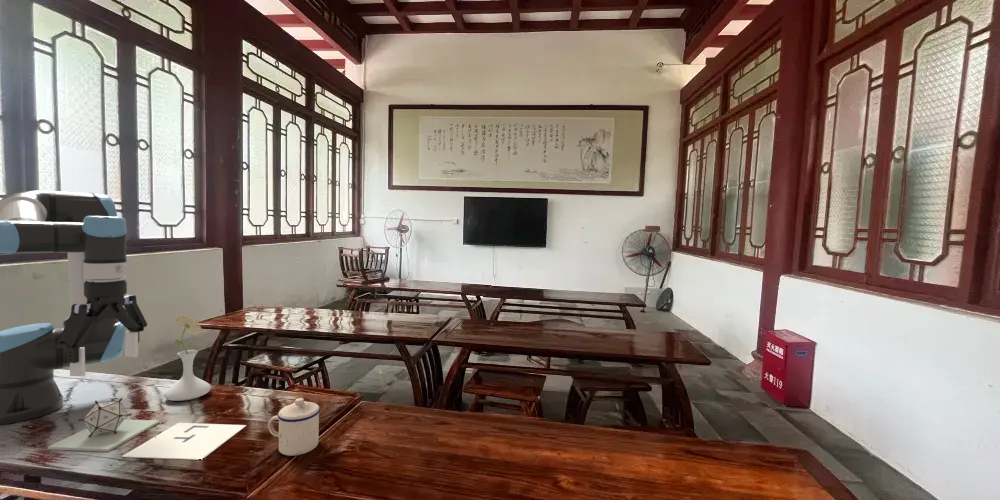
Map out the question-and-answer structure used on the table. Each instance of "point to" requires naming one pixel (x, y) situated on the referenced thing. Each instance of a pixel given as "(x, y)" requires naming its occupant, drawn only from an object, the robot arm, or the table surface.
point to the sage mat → (104, 437)
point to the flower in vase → (187, 367)
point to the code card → (186, 441)
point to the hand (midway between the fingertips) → (106, 365)
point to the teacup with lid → (297, 427)
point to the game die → (105, 417)
